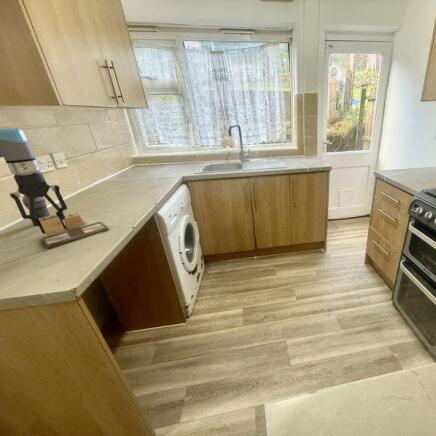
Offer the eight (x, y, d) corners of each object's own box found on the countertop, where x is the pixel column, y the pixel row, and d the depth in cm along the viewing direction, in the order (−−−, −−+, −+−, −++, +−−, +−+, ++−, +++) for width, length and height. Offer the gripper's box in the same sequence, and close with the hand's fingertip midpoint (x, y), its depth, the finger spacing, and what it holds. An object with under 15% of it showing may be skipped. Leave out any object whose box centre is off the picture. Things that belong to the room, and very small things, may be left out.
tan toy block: (43, 231, 98) (37, 218, 96) (61, 226, 102) (55, 213, 100) (46, 234, 95) (39, 221, 92) (64, 229, 99) (58, 217, 96)
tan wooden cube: (66, 226, 113) (61, 215, 111) (80, 222, 117) (76, 212, 115) (69, 230, 110) (64, 218, 108) (84, 225, 114) (79, 214, 112)
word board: (43, 240, 101) (41, 238, 100) (100, 224, 115) (99, 221, 115) (48, 249, 94) (47, 246, 93) (108, 231, 108) (107, 228, 108)
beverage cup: (56, 223, 117) (36, 183, 108) (36, 228, 112) (13, 187, 104) (55, 219, 121) (35, 180, 113) (35, 224, 117) (13, 184, 108)
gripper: (-11, 180, 80) (23, 241, 90) (62, 169, 93) (84, 224, 103) (-12, 176, 85) (20, 235, 94) (58, 167, 98) (79, 220, 107)
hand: (53, 229), depth 98 cm, fingers closed on tan toy block, 5 cm apart
